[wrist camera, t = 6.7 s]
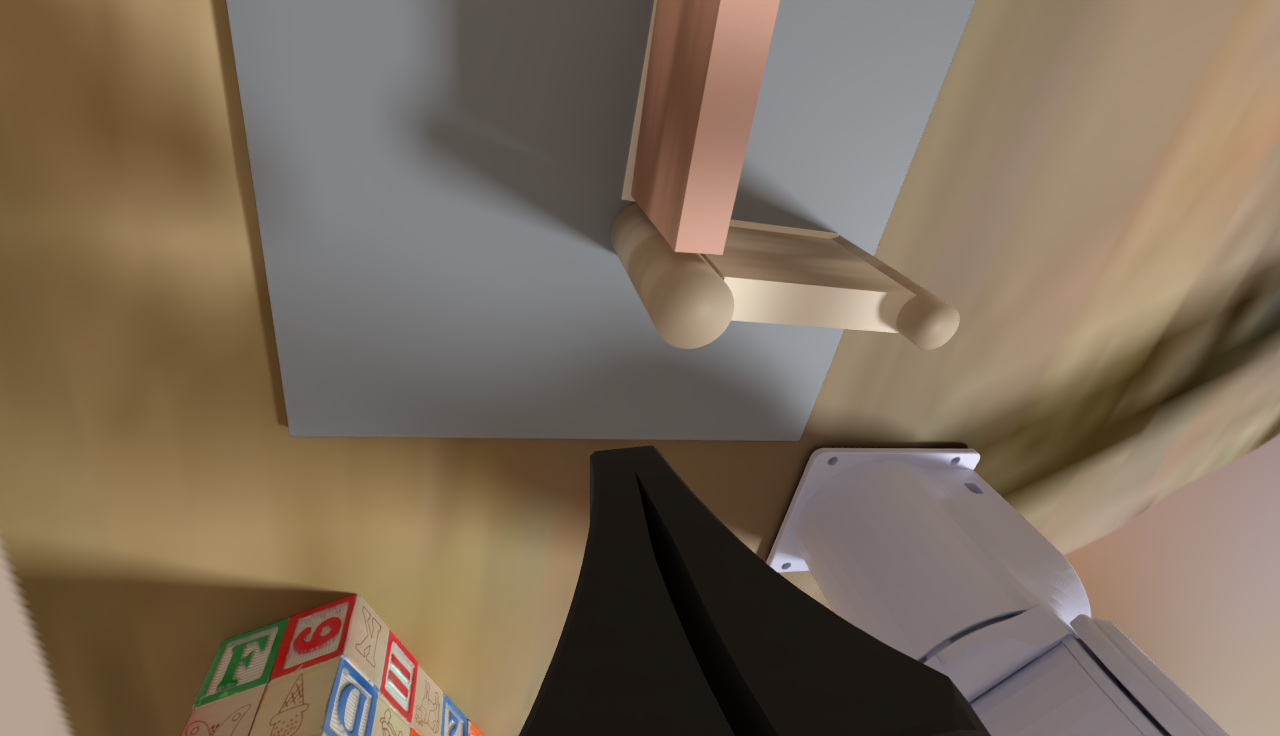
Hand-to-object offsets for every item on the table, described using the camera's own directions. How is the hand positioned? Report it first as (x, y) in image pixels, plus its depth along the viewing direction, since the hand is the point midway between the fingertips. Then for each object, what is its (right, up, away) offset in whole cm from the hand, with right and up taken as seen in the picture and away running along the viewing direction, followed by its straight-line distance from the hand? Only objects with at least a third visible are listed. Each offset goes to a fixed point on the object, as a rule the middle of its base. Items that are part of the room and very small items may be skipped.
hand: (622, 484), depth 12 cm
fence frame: (+4, +7, +7) cm, 11 cm away
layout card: (-1, +7, +6) cm, 10 cm away
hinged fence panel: (+1, +11, +4) cm, 11 cm away
